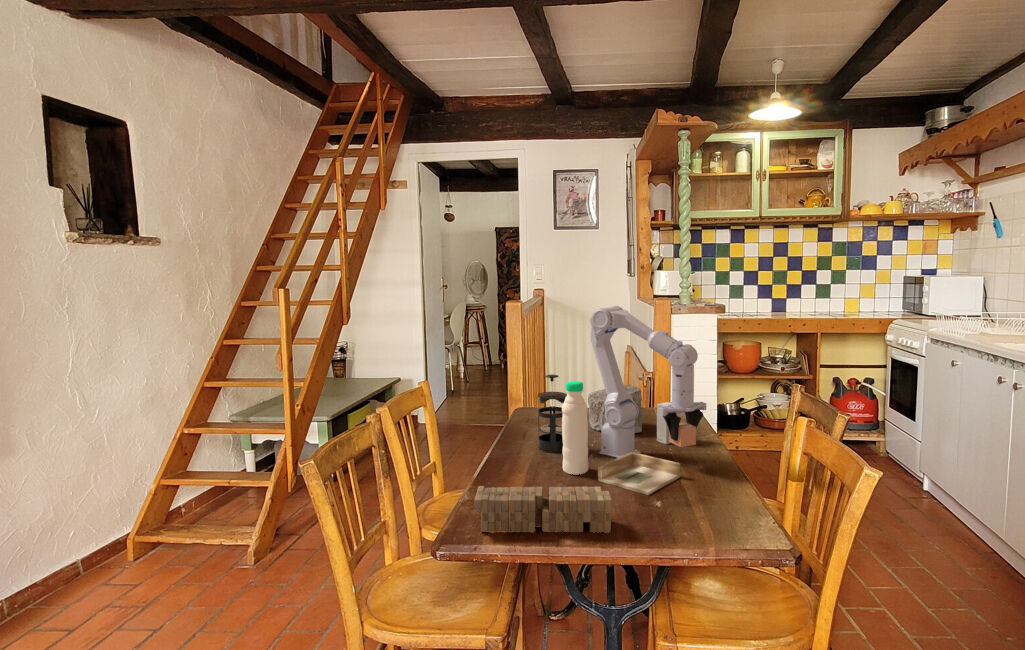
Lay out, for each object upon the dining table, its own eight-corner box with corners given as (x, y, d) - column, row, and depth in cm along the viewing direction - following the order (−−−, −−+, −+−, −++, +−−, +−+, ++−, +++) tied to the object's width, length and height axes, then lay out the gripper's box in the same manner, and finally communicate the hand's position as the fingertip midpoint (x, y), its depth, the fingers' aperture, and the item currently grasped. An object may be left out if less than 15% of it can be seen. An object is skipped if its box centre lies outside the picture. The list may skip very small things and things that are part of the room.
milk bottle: (591, 468, 167) (590, 380, 164) (583, 477, 161) (582, 385, 158) (567, 465, 170) (566, 378, 167) (559, 473, 164) (557, 383, 161)
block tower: (606, 522, 136) (478, 518, 137) (607, 486, 135) (478, 483, 136) (610, 538, 128) (474, 534, 129) (611, 500, 127) (474, 496, 128)
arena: (598, 480, 158) (597, 466, 157) (631, 464, 169) (631, 451, 169) (648, 495, 148) (648, 480, 147) (679, 477, 159) (680, 463, 159)
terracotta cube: (680, 447, 162) (680, 428, 162) (669, 442, 167) (669, 424, 166) (695, 444, 164) (696, 426, 163) (684, 439, 169) (684, 421, 168)
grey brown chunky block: (581, 424, 212) (580, 382, 211) (625, 419, 217) (625, 378, 216) (605, 438, 194) (604, 393, 193) (652, 432, 200) (652, 388, 198)
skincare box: (666, 444, 186) (666, 406, 185) (655, 441, 190) (656, 403, 189) (680, 441, 190) (680, 403, 189) (669, 437, 194) (669, 401, 192)
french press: (568, 453, 180) (567, 378, 178) (537, 453, 181) (536, 378, 178) (567, 441, 192) (566, 370, 189) (538, 441, 193) (536, 371, 190)
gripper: (670, 395, 157) (669, 445, 159) (714, 389, 163) (713, 438, 164) (654, 390, 164) (653, 438, 165) (697, 384, 169) (696, 431, 171)
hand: (682, 438), depth 165 cm, fingers closed on terracotta cube, 5 cm apart
